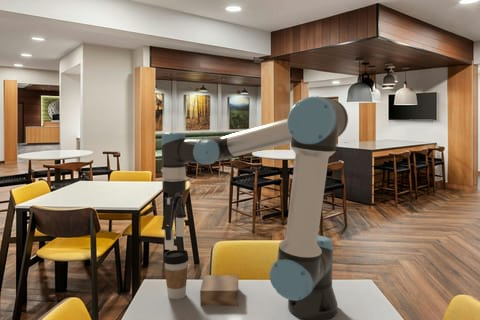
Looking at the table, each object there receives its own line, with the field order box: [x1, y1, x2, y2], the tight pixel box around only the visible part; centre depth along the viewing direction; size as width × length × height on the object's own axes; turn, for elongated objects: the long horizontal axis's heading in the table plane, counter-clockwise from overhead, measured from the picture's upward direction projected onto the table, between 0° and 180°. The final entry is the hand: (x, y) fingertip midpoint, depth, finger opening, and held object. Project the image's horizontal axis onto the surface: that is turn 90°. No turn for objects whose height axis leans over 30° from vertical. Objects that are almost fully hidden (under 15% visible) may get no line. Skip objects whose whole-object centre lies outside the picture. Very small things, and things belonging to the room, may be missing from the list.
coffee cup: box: [162, 249, 189, 300], centre depth 126 cm, size 8×8×15 cm
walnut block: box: [199, 274, 239, 307], centre depth 125 cm, size 12×12×5 cm
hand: (175, 242), depth 125 cm, fingers open, 13 cm apart
